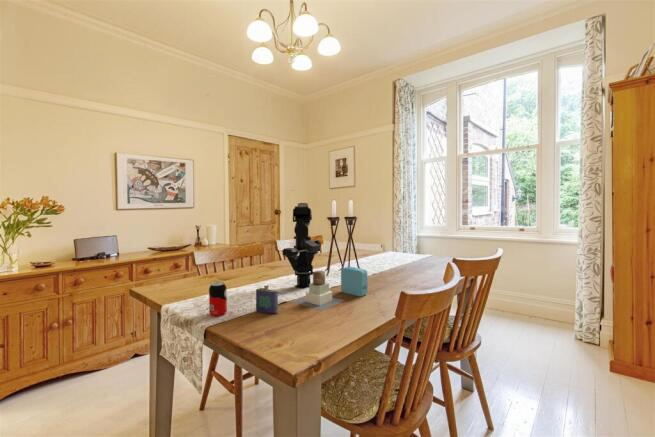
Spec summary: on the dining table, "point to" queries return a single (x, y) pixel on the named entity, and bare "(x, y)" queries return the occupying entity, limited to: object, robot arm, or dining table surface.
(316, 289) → the tower top
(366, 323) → the dining table surface
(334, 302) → the slate mat
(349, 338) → the dining table surface
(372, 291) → the dining table surface
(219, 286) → the beverage can
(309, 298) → the tower base
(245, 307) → the dining table surface
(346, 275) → the data package
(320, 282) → the brown small cylinder
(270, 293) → the flask
